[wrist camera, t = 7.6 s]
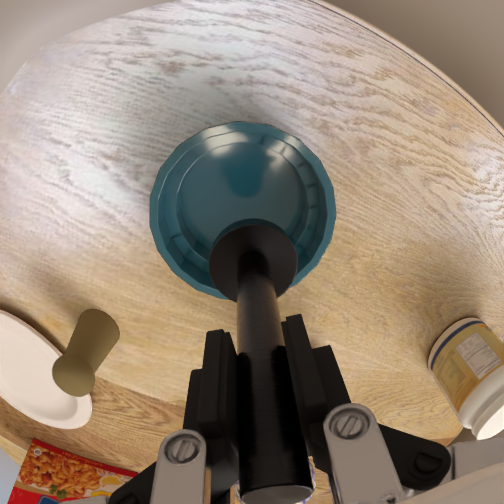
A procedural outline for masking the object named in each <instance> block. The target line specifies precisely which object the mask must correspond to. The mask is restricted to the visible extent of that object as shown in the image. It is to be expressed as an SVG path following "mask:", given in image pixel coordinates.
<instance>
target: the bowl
mask: <svg viewBox="0 0 504 504" xmlns="http://www.w3.org/2000/svg"><path fill="white" fill-rule="evenodd" d="M249 218H256V219H263V220H267V221H270V222H272V223H274V224H276V225H278V226H279V227H280V228H282V229H283V230H284V231H285V232H286V234H287V235H288V236H289V238H290V240H291V242H292V244H293V246H294V249H295V251H296V254H297V260H298V268H297V273H296V276H295V279H294V281H293V283H292V284H291V286H290V287H292V286H294V285H296V284H297V283H299V282H300V281H301V280H302V279H303V278H304V277H306V276H307V275H308V274H309V273H310V272H311V271H312V270H313V269H314V268H315V267H316V266H317V265H318V263H319V262H320V260H321V258H322V256H323V255H324V253H325V251H326V249H327V248H328V246H329V244H330V241H331V239H332V234H333V229H334V225H335V220H336V206H335V197H334V190H333V186H332V183H331V181H330V179H329V177H328V175H327V173H326V171H325V169H324V167H323V165H322V163H321V161H320V160H319V158H318V157H317V156H316V155H315V154H314V153H313V152H312V151H311V150H310V149H309V148H308V147H307V146H306V145H305V144H304V143H302V142H301V141H300V140H299V139H298V138H297V137H294V136H292V135H290V134H288V133H286V132H284V131H282V130H280V129H278V128H276V127H273V126H271V125H268V124H260V123H251V122H241V121H238V122H237V121H236V122H231V123H227V124H222V125H218V126H213V127H209V128H206V129H204V130H202V131H201V132H199V133H197V134H196V135H194V136H192V137H191V138H189V139H188V140H186V141H184V142H183V143H181V144H180V145H179V146H178V147H177V148H176V149H175V150H174V152H173V153H172V154H171V155H170V156H169V158H168V159H167V160H166V161H165V163H164V164H163V165H162V166H161V168H160V170H159V172H158V175H157V178H156V180H155V183H154V186H153V189H152V191H151V194H150V218H149V224H150V228H151V232H152V235H153V238H154V241H155V244H156V247H157V250H158V252H159V253H160V255H161V256H162V257H163V259H164V260H165V262H166V263H167V264H168V266H169V267H170V268H171V270H172V271H173V272H174V273H175V274H176V275H177V276H178V277H180V278H181V279H182V280H184V281H185V282H186V283H188V284H189V285H190V286H192V287H193V288H194V289H196V290H198V291H201V292H204V293H206V294H209V295H212V296H214V297H217V298H221V299H228V298H227V297H225V296H224V295H223V294H221V293H220V291H219V290H218V289H217V288H216V287H215V285H214V284H213V282H212V280H211V277H210V273H209V257H210V252H211V248H212V245H213V242H214V241H215V239H216V237H217V236H218V235H219V233H220V232H221V231H222V230H223V229H225V228H226V227H227V226H229V225H230V224H232V223H234V222H237V221H239V220H243V219H249ZM290 287H289V288H290ZM228 300H230V299H228Z"/></svg>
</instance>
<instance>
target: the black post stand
mask: <svg viewBox="0 0 504 504" xmlns="http://www.w3.org/2000/svg"><path fill="white" fill-rule="evenodd" d="M297 268H298V260H297V254H296V251H295V249H294V246H293V244H292V242H291V240H290V238H289V236H288V235H287V234H286V232H285V231H284V230H283V229H282V228H280V227H279V226H278V225H276V224H274V223H272V222H270V221H267V220H263V219H256V218H249V219H243V220H239V221H237V222H234V223H232V224H230V225H229V226H227V227H226V228H225V229H223V230H222V231H221V232H220V233H219V235H218V236H217V237H216V239H215V241H214V242H213V245H212V248H211V252H210V257H209V273H210V277H211V280H212V282H213V284H214V285H215V287H216V288H217V289H218V290H219V291H220V293H221V294H223V295H224V296H225V297H227V298H228V299H230V300H232V301H234V302H237V375H238V453H239V496H240V499H241V501H242V502H243V503H245V504H296V503H299V502H301V501H304V500H306V499H307V498H309V497H310V496H311V495H312V494H313V491H314V487H313V482H312V476H311V471H310V465H309V460H308V455H307V449H306V444H305V439H304V436H303V434H302V432H301V427H300V421H299V416H298V411H297V405H296V400H295V395H294V389H293V384H292V379H291V374H290V368H289V363H288V358H287V353H286V348H285V343H284V338H283V332H282V327H281V317H280V313H279V308H278V303H277V298H278V297H280V296H281V295H282V294H284V293H285V292H286V291H287V290H288V288H289V287H290V286H291V284H292V283H293V281H294V279H295V276H296V273H297Z"/></svg>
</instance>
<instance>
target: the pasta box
mask: <svg viewBox="0 0 504 504" xmlns="http://www.w3.org/2000/svg"><path fill="white" fill-rule="evenodd" d="M136 475H138V473H137V472H133V471H129V470H125V469H121V468H117V467H113V466H110V465H106V464H103V463H100V462H97V461H93V460H90V459H87V458H84V457H81V456H78V455H76V454H73V453H70V452H67V451H65V450H62V449H59V448H57V447H54V446H52V445H49V444H47V443H45V442H42V441H40V440H38V439H35V438H34V439H33V441H32V443H31V446H30V448H29V450H28V452H27V455H26V457H25V460H24V462H23V464H22V467H21V469H20V472H19V475H18V477H17V479H16V482H15V484H14V487H13V490H12V492H11V495H10V498H9V501H8V504H58V503H60V502H64V501H71V500H77V499H83V498H89V497H95V496H100V495H106V496H107V497H108V496H111V494H112V493H113V492H114V491H115V490H116V489H118V488H119V487H121V486H122V485H124V484H125V483H126V482H128V481H129V480H131V479H132V478H134V477H135V476H136Z"/></svg>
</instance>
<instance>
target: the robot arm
mask: <svg viewBox="0 0 504 504" xmlns="http://www.w3.org/2000/svg"><path fill="white" fill-rule="evenodd" d="M281 327H282V332H283V338H284V343H285V348H286V353H287V358H288V363H289V368H290V374H291V379H292V384H293V389H294V395H295V400H296V405H297V411H298V416H299V421H300V427H301V432H302V434H303V436H304V439H305V444H306V449H307V455H308V456H313V462H314V463H315V468H317V469H319V470H321V471H323V472H325V473H327V478H328V482H329V487H330V491H331V496H332V500H333V504H504V436H499V437H494V438H488V439H482V440H476V441H468V442H461V443H454V444H453V446H447V447H444V446H443V445H441V444H439V443H437V442H433V441H430V440H427V439H423V438H420V437H417V436H414V435H411V434H408V433H405V432H402V431H399V430H396V429H393V428H390V427H387V426H384V425H381V424H379V423H377V421H376V418H375V416H374V414H373V413H372V411H371V410H370V409H369V408H367V407H366V406H364V405H361V404H356V403H351V401H350V398H349V395H348V392H347V389H346V386H345V384H344V381H343V378H342V375H341V373H340V370H339V367H338V364H337V362H336V359H335V356H334V354H333V351H332V348H331V346H330V345H327V346H323V347H319V348H314V349H311V345H310V342H309V339H308V335H307V332H306V329H305V325H304V322H303V319H302V315H301V314H297V315H293V316H288V317H286V321H284V322H281ZM238 480H239V453H238V375H237V354H236V351H235V347H234V344H233V341H232V338H231V335H230V333H229V332H226V333H224V330H223V329H219V330H214V331H208V332H207V334H206V342H205V350H204V358H203V366H202V369H195V370H192V371H191V375H190V381H189V388H188V395H187V401H186V408H185V415H184V423H183V429H182V430H177V431H175V432H173V433H171V434H169V435H168V436H167V437H165V439H164V440H163V441H162V442H161V445H160V448H159V453H158V458H157V461H156V462H154V463H153V464H152V465H150V466H149V467H148V468H146V469H145V470H143V471H142V472H141V473H139V474H138V475H136V476H135V477H134V478H132V479H131V480H129V481H128V482H126V483H125V484H124V485H122V486H121V487H119V488H118V489H116V490H115V491H114V492H113V493H112V494H111V496H108V497H107V496H106V495H100V496H95V497H89V498H83V499H77V500H71V501H64V502H60V503H58V504H235V491H234V484H235V483H236V482H237V481H238Z"/></svg>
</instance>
